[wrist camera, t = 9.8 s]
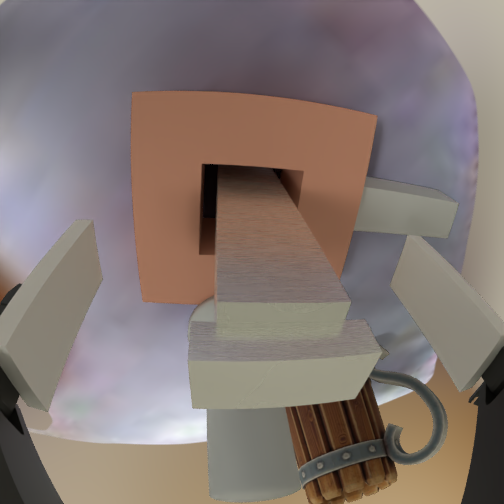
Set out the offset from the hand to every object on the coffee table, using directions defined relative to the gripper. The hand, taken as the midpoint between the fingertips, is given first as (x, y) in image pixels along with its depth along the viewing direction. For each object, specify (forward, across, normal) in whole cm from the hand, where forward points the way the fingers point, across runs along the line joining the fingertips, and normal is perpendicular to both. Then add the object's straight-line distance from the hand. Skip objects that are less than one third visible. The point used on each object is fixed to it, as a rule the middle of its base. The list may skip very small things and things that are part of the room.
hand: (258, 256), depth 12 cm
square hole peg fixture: (+9, +5, -3) cm, 11 cm away
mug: (+10, +12, -19) cm, 24 cm away
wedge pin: (+9, 0, 0) cm, 9 cm away
